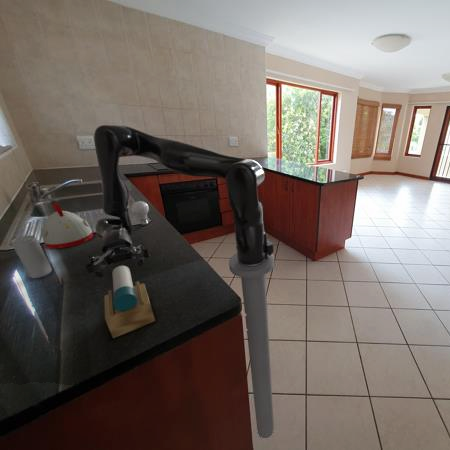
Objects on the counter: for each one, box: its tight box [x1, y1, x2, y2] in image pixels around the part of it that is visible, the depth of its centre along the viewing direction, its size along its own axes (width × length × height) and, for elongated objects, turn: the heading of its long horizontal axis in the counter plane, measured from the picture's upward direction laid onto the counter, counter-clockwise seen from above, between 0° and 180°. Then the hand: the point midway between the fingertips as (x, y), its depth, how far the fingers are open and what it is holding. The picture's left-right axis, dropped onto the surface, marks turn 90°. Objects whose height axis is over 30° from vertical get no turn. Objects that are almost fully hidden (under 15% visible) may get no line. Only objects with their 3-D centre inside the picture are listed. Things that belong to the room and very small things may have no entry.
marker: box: [111, 265, 137, 311], centre depth 55 cm, size 15×4×4 cm, turn 38°
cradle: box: [103, 280, 156, 339], centre depth 55 cm, size 8×9×6 cm
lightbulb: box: [131, 200, 150, 226], centre depth 104 cm, size 6×6×11 cm
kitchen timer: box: [40, 202, 94, 249], centre depth 89 cm, size 14×14×15 cm
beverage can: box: [11, 235, 53, 279], centre depth 69 cm, size 5×5×12 cm
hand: (120, 268), depth 62 cm, fingers open, 8 cm apart
